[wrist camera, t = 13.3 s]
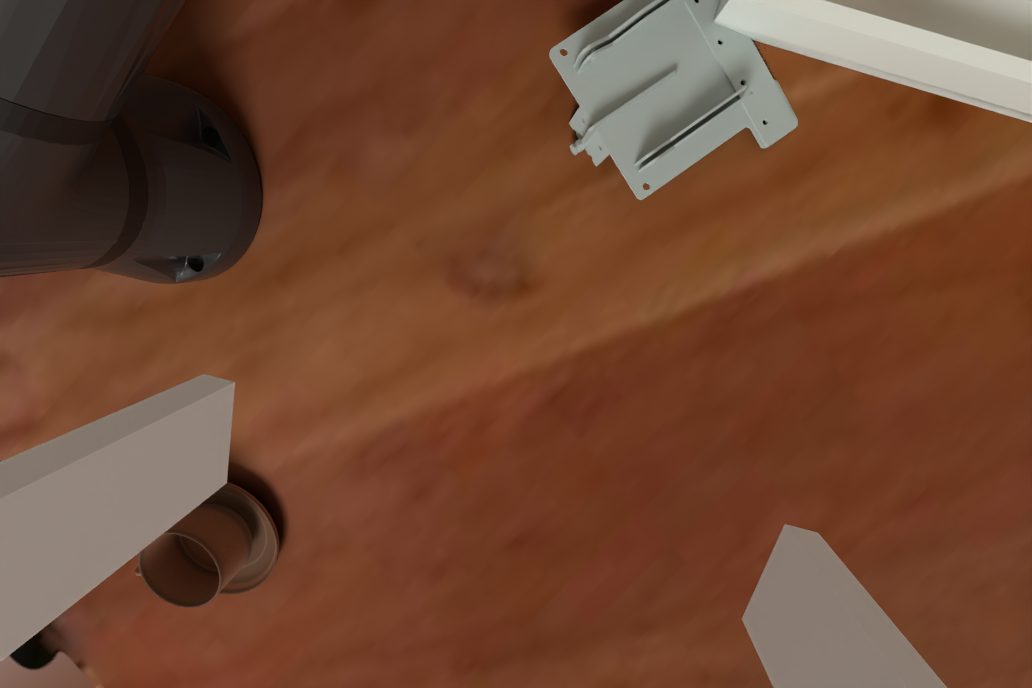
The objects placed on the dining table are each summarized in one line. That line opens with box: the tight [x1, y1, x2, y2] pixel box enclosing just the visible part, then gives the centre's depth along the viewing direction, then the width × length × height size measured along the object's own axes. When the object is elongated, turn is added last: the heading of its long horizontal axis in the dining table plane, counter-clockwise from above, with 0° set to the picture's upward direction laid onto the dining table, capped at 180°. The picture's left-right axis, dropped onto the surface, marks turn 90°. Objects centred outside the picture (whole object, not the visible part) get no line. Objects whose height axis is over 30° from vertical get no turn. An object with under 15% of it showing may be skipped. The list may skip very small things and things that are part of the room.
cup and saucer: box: [135, 482, 279, 608], centre depth 42 cm, size 12×12×6 cm
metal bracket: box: [549, 0, 798, 200], centre depth 32 cm, size 14×6×15 cm
